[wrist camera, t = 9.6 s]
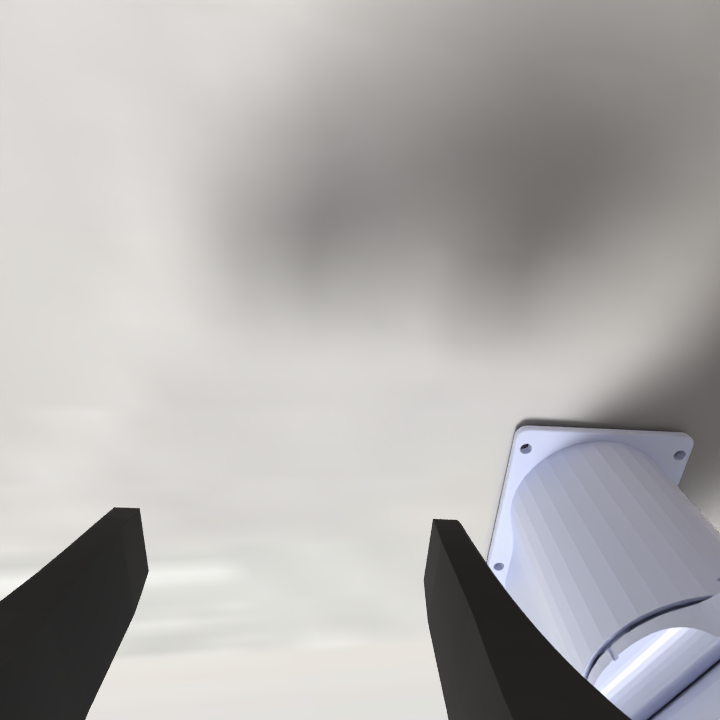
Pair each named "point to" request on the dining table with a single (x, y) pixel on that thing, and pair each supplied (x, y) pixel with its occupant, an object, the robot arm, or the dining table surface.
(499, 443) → the dining table surface
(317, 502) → the dining table surface
